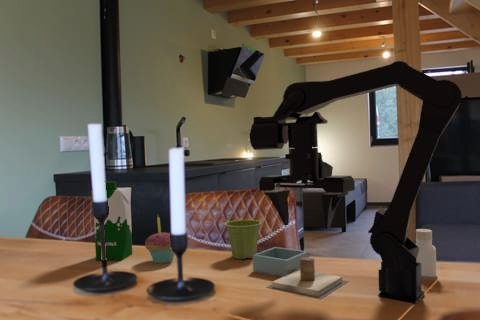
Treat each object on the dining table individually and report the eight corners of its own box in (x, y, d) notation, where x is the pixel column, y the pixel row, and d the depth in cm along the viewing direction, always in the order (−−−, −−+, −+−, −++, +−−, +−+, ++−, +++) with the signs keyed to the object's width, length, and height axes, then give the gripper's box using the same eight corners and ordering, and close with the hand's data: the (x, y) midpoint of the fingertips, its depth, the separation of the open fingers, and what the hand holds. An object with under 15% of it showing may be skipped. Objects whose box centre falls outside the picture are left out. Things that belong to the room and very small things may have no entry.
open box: (309, 269, 98) (308, 251, 98) (288, 279, 91) (287, 260, 91) (275, 263, 104) (274, 246, 104) (253, 273, 97) (252, 255, 97)
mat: (348, 283, 88) (348, 281, 88) (321, 301, 78) (321, 299, 78) (296, 273, 95) (296, 272, 95) (265, 289, 86) (265, 287, 86)
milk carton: (91, 261, 111) (87, 183, 111) (106, 252, 120) (103, 180, 120) (123, 261, 110) (120, 182, 109) (137, 252, 119) (134, 179, 118)
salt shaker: (437, 278, 89) (436, 232, 89) (416, 278, 90) (415, 232, 89) (432, 273, 93) (431, 228, 93) (412, 272, 94) (411, 228, 93)
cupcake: (173, 265, 105) (171, 216, 104) (139, 265, 106) (138, 216, 106) (183, 256, 113) (182, 210, 113) (152, 256, 115) (150, 210, 114)
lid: (342, 281, 88) (341, 257, 87) (318, 296, 80) (317, 269, 80) (298, 274, 94) (297, 250, 94) (272, 286, 86) (272, 261, 86)
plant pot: (218, 259, 110) (217, 224, 109) (236, 250, 118) (235, 218, 118) (252, 262, 105) (251, 227, 105) (268, 253, 114) (267, 220, 113)
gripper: (364, 145, 87) (367, 223, 87) (284, 148, 98) (287, 217, 99) (340, 146, 78) (343, 234, 78) (255, 150, 89) (258, 226, 90)
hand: (306, 227), depth 87 cm, fingers open, 9 cm apart
